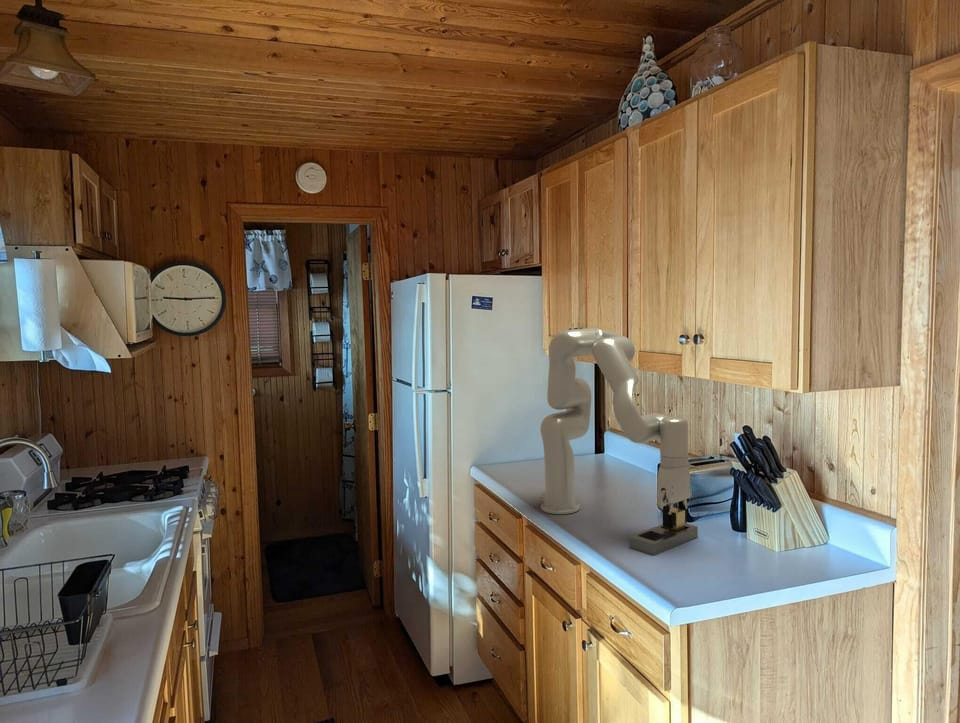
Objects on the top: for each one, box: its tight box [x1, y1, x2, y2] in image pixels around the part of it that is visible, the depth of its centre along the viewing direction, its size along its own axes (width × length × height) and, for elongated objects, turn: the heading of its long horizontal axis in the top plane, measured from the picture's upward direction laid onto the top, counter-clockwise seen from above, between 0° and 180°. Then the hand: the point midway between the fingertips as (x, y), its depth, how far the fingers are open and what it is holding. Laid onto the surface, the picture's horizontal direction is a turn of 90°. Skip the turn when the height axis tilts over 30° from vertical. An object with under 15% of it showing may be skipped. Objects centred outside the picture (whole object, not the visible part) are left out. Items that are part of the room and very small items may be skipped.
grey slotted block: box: [628, 523, 699, 556], centre depth 188 cm, size 8×20×3 cm, turn 129°
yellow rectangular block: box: [664, 506, 685, 532], centre depth 191 cm, size 4×4×8 cm
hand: (674, 524), depth 191 cm, fingers open, 5 cm apart
